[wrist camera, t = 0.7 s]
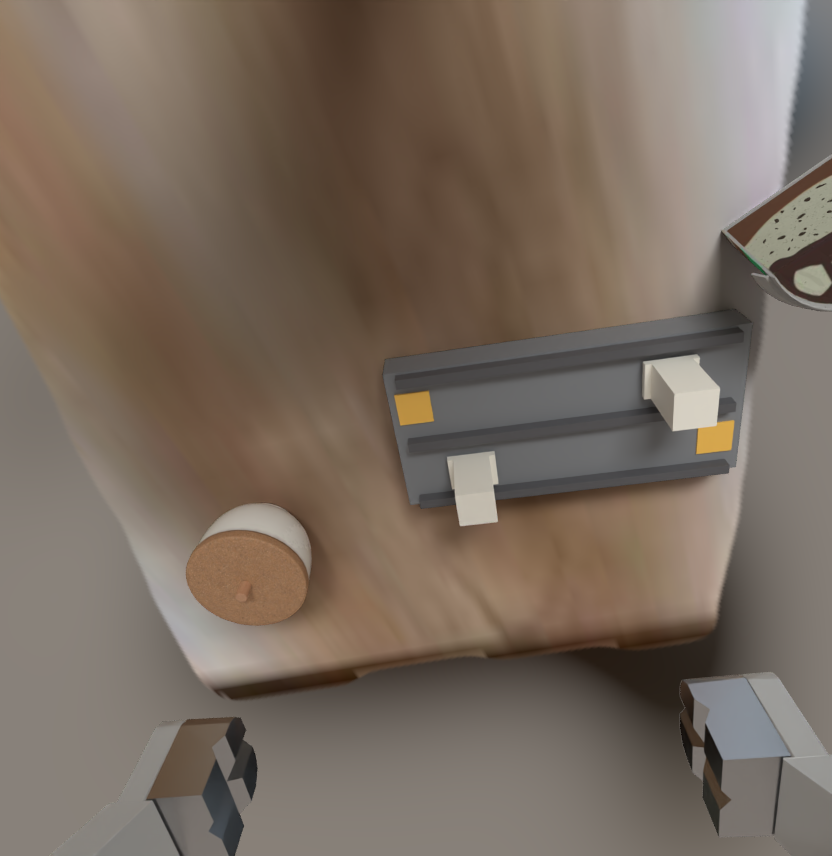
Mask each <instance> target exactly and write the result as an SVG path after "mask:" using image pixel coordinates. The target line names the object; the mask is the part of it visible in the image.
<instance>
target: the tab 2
mask: <svg viewBox="0 0 832 856" xmlns="http://www.w3.org/2000/svg"><path fill="white" fill-rule="evenodd" d="M699 363H700V357H699V356H698V355H697V354H695V355H688V356H680V357H673V358H666V359H658V360H651V361H644V362H643V374H642V397H643V398H644V400H645V399H651V400H652V401H653V403H654V404H655V406H656V407H657V409H658V410H659V412H660V413H661V415H662V416H663V418H664V419H665V421H666V422H667V424H668V425H669V427H670V428H671V430H672V431H680V430H688V429H696V428H704V427H712V426H717V416H718V406H719V395H720V387H719V386H718V385H717V384H716V383H715V382H714V381H713V380H712V379H711V378H710V376H709V375H708V374H707V373H706V372H705V371H704V370H703V369H702V368H701V367H700V365H699Z"/></svg>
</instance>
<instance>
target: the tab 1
mask: <svg viewBox="0 0 832 856" xmlns="http://www.w3.org/2000/svg"><path fill="white" fill-rule="evenodd" d="M447 462H448V468H449V474H450V480H451V486H452V489H455V500H456V506H457V512H458V518H459V524H460V526H467V525H476V524H485V523H493V522H498V519H497V511H496V503H495V495H494V487H493V485H494V484H498V475H497V467H496V459H495V451H490V452H482V453H474V454H466V455H458V456H450V457H447Z"/></svg>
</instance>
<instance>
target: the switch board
mask: <svg viewBox="0 0 832 856" xmlns="http://www.w3.org/2000/svg"><path fill="white" fill-rule="evenodd" d="M752 326H753V322H751V321H750V320H749V319H747V318H746V317H745V316H744V315H742V314H741V313H740V312H738V311H737V310H736V309H734V310H727V311H720V312H713V313H706V314H699V315H692V316H685V317H678V318H671V319H664V320H657V321H650V322H643V323H636V324H629V325H622V326H615V327H608V328H601V329H594V330H587V331H580V332H573V333H566V334H559V335H552V336H545V337H538V338H531V339H524V340H517V341H510V342H503V343H496V344H489V345H482V346H475V347H468V348H461V349H454V350H447V351H440V352H433V353H426V354H419V355H412V356H405V357H399V358H392V359H385V364H384V369H383V379H384V384H385V389H386V393H387V398H388V403H389V408H390V412H391V417H392V422H393V426H394V431H395V436H396V440H397V445H398V450H399V454H400V459H401V464H402V468H403V473H404V478H405V482H406V487H407V492H408V496H409V501H410V505H414V504H420V508H421V509H423V508H432V507H441V506H449V505H456V500H455V489H452V486H451V480H450V474H449V468H448V462H447V457H450V456H458V455H466V454H474V453H482V452H490V451H495V459H496V467H497V475H498V484H494V485H493V487H494V495H495V500H501V499H510V498H519V497H527V496H536V495H544V494H553V493H562V492H570V491H579V490H588V489H596V488H605V487H614V486H622V485H631V484H640V483H648V482H657V481H666V480H674V479H683V478H692V477H700V476H709V475H718V474H726V473H729V468H732V467H736V461H737V453H738V444H739V436H740V427H741V419H742V411H743V402H744V394H745V385H746V377H747V368H748V360H749V351H750V343H751V334H752ZM695 354H697V355H698V356H699V357H700V363H699V365H700V367H701V368H702V369H703V370H704V371H705V372H706V373H707V374H708V375H709V376H710V378H711V379H712V380H713V381H714V382H715V383H716V384H717V385H718V386H719V387H720V395H719V406H718V416H717V426H712V427H704V428H696V429H688V430H680V431H672V430H671V428H670V427H669V425H668V424H667V422H666V421H665V419H664V418H663V416H662V415H661V413H660V412H659V410H658V409H657V407H656V406H655V404H654V403H653V401H652V400H651V399H645V400H644V398H643V397H642V374H643V362H644V361H651V360H658V359H666V358H673V357H680V356H688V355H695Z"/></svg>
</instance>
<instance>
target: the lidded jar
mask: <svg viewBox="0 0 832 856" xmlns="http://www.w3.org/2000/svg"><path fill="white" fill-rule="evenodd" d="M311 563H312V555H311V545H310V542H309V539H308V535H307V533H306V531H305V529H304V528H303V526H302V525H301V524H300V522H299V521H298V520H297V519H296V518H295V517H294V516H292V515H291V514H290V513H289V512H288V511H286V510H285V509H283V508H282V507H279V506H277V505H274V504H269V503H252V504H245V505H241V506H238V507H236V508H233V509H231V510H229V511H228V512H226V513H224V514H223V515H221V516H220V517H219V518H218V519H217V520H216V521H215V522H214V523H213V524H212V525H211V526H210V527H209V529H208V530H207V531H206V533H205V534H204V535H203V537H202V538H201V540H200V542H199V544H198V546H197V547H196V548H195V550H194V551H193V552H192V554H191V556H190V558H189V561H188V563H187V567H186V579H187V583H188V586H189V588H190V590H191V592H192V594H193V595H194V597H195V598H196V600H197V601H198V602H199V603H200V604H201V605H202V606H204V607H205V608H206V609H207V610H208V611H210V612H212V613H213V614H215V615H217V616H219V617H221V618H223V619H225V620H228V621H231V622H235V623H238V624H244V625H257V626H258V625H268V624H273V623H277V622H280V621H282V620H284V619H286V618H288V617H290V616H292V615H293V614H294V613H296V612H297V611H298V610H299V609H300V607H301V606H302V604H303V603H304V601H305V598H306V595H307V592H308V585H309V578H310V573H311Z"/></svg>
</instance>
